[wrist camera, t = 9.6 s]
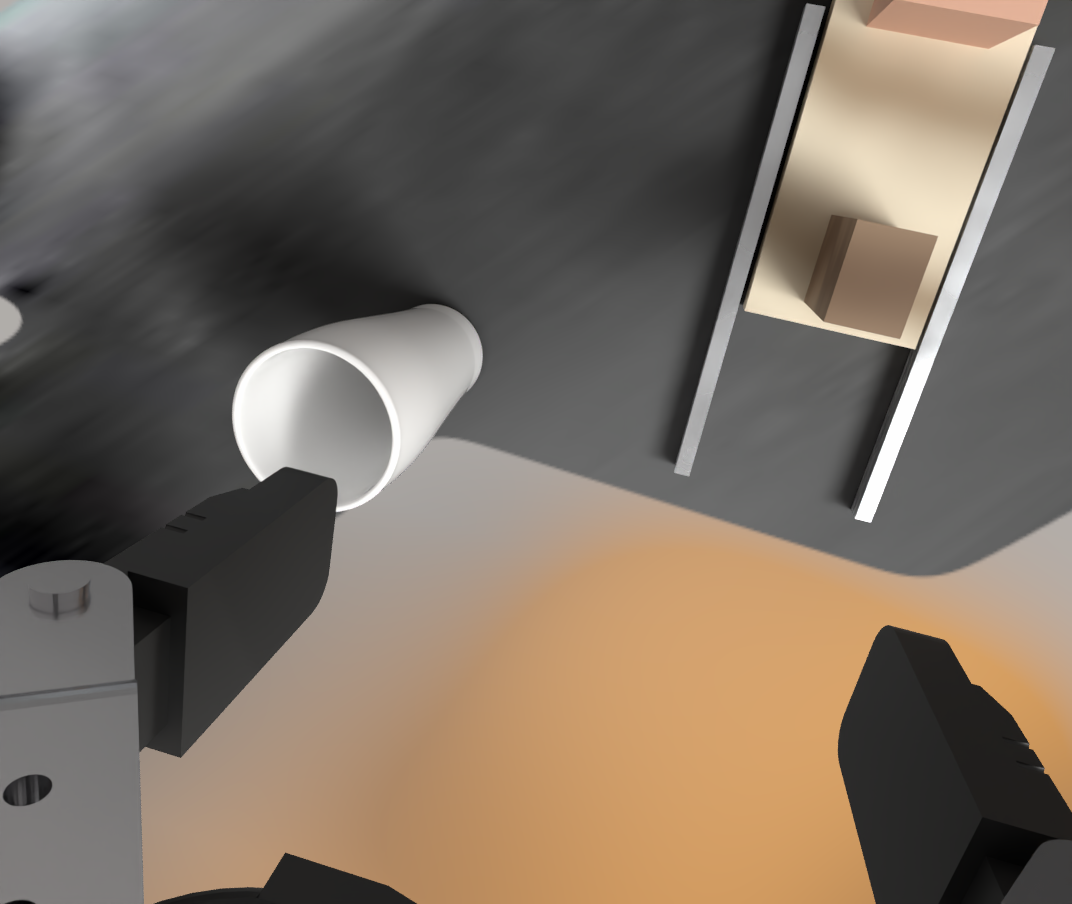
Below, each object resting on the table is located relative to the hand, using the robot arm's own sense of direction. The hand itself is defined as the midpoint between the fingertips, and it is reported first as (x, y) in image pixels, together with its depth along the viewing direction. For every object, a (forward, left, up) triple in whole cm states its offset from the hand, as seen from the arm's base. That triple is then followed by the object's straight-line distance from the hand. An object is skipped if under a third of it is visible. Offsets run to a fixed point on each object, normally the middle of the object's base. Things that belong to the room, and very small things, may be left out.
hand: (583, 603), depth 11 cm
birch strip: (-12, +8, -30) cm, 33 cm away
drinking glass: (+5, -11, -30) cm, 33 cm away
